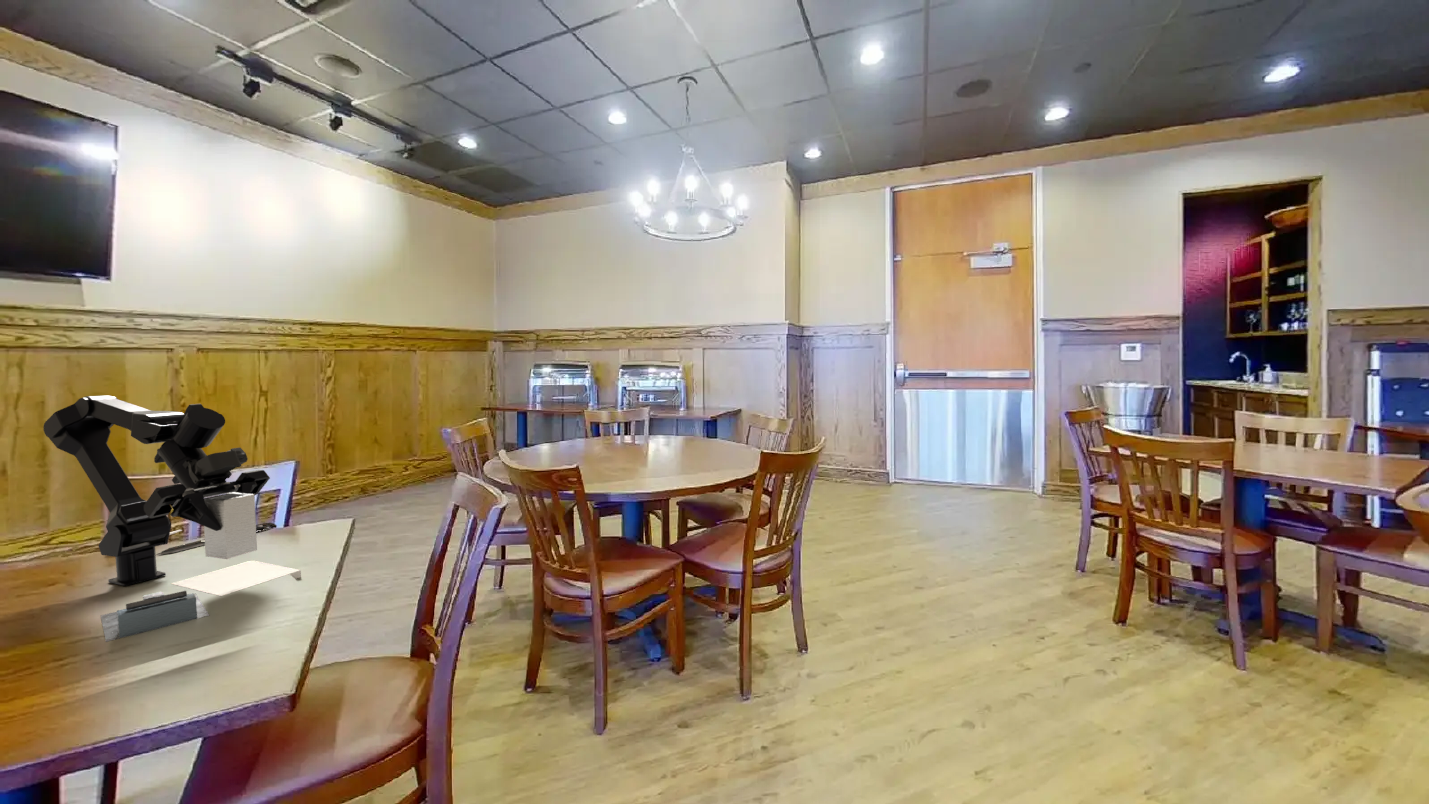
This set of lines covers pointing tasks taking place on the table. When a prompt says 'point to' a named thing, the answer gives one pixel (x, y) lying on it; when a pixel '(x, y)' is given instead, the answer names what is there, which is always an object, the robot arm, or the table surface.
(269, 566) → the cutting board
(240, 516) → the square hollow tube
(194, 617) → the grey piece
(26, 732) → the table surface
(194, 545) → the knife
